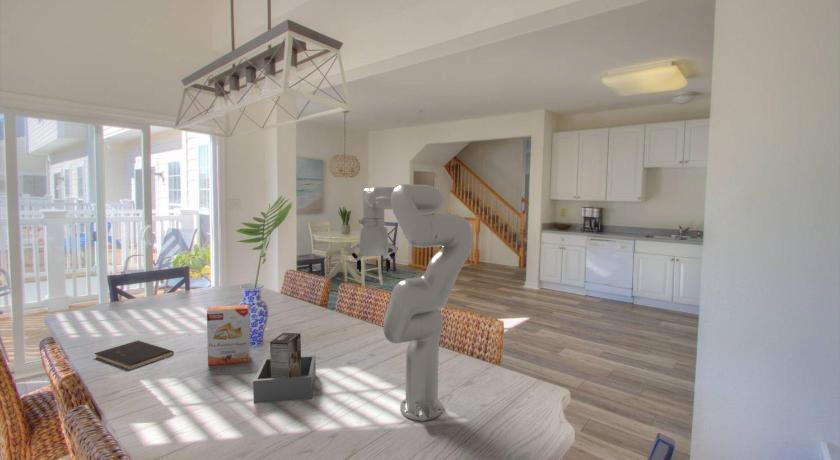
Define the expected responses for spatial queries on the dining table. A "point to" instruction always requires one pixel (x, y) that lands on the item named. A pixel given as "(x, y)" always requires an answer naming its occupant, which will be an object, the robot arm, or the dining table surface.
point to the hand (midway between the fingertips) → (373, 271)
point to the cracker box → (228, 334)
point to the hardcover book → (134, 354)
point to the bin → (284, 383)
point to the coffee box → (286, 355)
